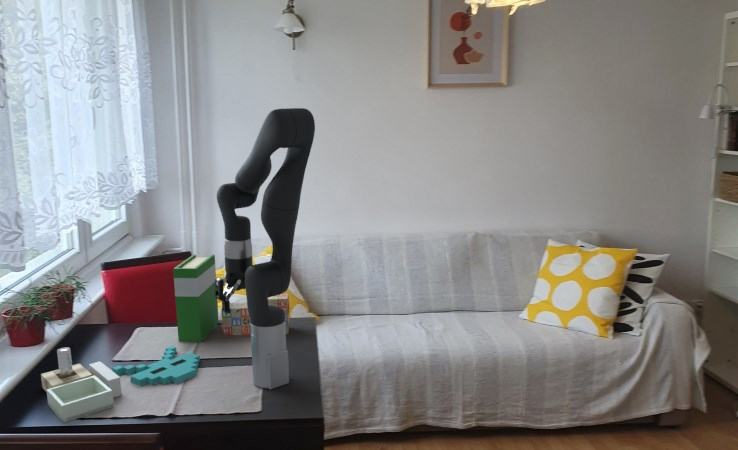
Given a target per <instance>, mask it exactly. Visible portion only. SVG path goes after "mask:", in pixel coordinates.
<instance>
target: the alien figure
mask: <svg viewBox="0 0 738 450" xmlns="http://www.w3.org/2000/svg"><path fill="white" fill-rule="evenodd" d="M176 354H177V347H176V346H174V345H169V346H168V347H165V351H163V355H162V356H161V360H158V361H156V362H153V363H151V364H150V363H149V364H147V365H146V364H143V363H141V364H138V365H132V364H128V365H125V366H123V365H119V364H118V365H116V366H113V367H112V368H111V370H112V371H113V372H114V373H115V374H117V375H118V376H120V375H123V374H125V375H128V376H129V377H130V383H132V384H135V385H137V386H139V387H142V386H144V385H147V384H148V385H151V386H155V385H157V384H159V383H160V384H162V385H167V384H169V383H174V384H175V385H176V384H179V383H181V382H183V381H186V380H188V379H190V378H192V377H195V376H197V371H199V370H198V367H199V366H200V362H201V357H200V355H198V354H195V353H193V352H188V353H185V354H183V355H180V356H178V357H176Z"/></svg>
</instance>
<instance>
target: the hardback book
mask: <svg viewBox="0 0 738 450" xmlns="http://www.w3.org/2000/svg"><path fill="white" fill-rule="evenodd" d="M215 258H216V256H215V254H211V255H210V256H209V257H208V256H197V255H196V254H192V255H191V256H189V257H188V258H186V259H185V260H183V261H182V262H180V264H178V265H176V266H175V267H174V268H173V269H172V273H173V283H174V284H173V285H174V297H175V299H174V300H175V311H176V324H177V327H176V328H177V337H178V338H177V339H178V342H179V343H180V342H183V343H184V342H186V343H202V342H204V340H205V339H206V337H208V335H210V334H211V332H212V331H213V330H214V329H215V327H217V325H219V324H220V322H219V321H220V320H219V319H220V318H219V308H218V307H219V304H218V302H219V301H218V299H216V298H215V279H216V278H217V274H216V272H217V271H216V259H215Z"/></svg>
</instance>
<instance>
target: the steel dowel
mask: <svg viewBox="0 0 738 450" xmlns="http://www.w3.org/2000/svg"><path fill="white" fill-rule="evenodd" d="M71 351H72V350H71V347H61V348H58V349H57V350H56V354H57V363H58V369H59V372H60V379H63V378H67V377H70V376H73V369H72V365H73V360H72V352H71Z"/></svg>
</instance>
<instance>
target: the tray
mask: <svg viewBox="0 0 738 450" xmlns="http://www.w3.org/2000/svg"><path fill="white" fill-rule="evenodd" d="M46 396H47V405H48V407H49V408H50V409H51V410H52V412H54V414H55V416H57V417H58V418H59V419H60V421H61V422H62V423H64V424H65V423H68V422H71V421H73V420H74V421H75V420H76V419H77V420H78V419H80V418H83V417H85V416H89V415H93V414H95V413H98V412H102V411H104V410H107V409H111V408H113V407H114V398H113V394H112V390H111V389H110V388H109V387H108V386H106V385H105V384H104V383H103V382H102V381H101V380H99V379H98V378H97V377H96V376H91V377H88V378H85V379H81V380H78V381H74V382H71V383H67V384H64V385H60V386H57V387H53V388H50V389H47V392H46Z"/></svg>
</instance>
